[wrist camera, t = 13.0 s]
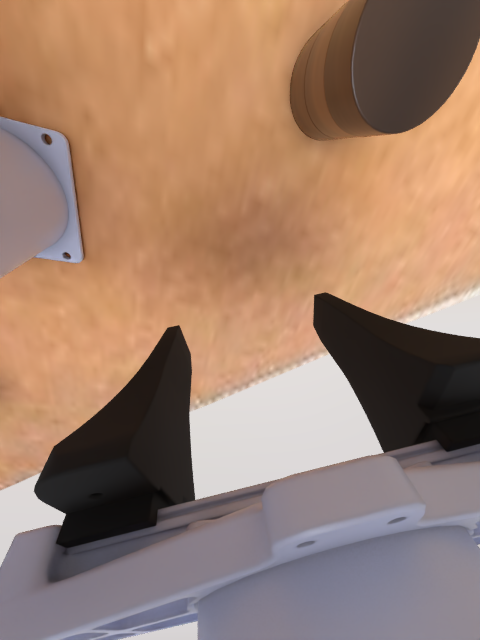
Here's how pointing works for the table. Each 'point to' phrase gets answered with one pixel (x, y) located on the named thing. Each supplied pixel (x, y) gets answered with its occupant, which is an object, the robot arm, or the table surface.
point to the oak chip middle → (322, 81)
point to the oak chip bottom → (298, 93)
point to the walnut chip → (397, 62)
